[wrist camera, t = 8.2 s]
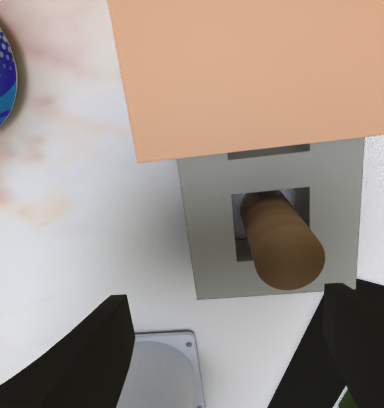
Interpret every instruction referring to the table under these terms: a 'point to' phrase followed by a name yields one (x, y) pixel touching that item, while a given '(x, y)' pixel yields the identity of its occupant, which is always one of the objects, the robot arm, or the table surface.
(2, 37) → the beer can
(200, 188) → the socket plate
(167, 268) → the table surface
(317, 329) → the sushi
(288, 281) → the peg
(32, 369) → the robot arm
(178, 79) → the raised peach slab
